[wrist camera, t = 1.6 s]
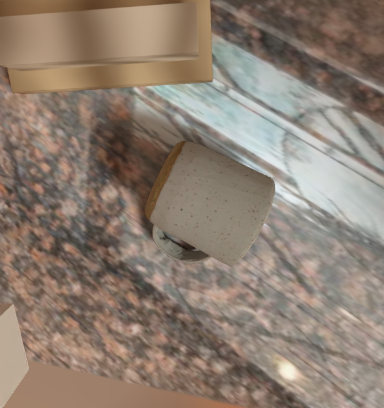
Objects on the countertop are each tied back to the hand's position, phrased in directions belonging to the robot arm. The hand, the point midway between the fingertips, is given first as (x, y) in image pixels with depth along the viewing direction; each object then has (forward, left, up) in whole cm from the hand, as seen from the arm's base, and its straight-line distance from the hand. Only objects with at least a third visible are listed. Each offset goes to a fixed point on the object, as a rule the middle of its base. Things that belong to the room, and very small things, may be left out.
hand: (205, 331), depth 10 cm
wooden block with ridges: (+7, -16, -18) cm, 25 cm away
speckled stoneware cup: (0, 0, -18) cm, 18 cm away
